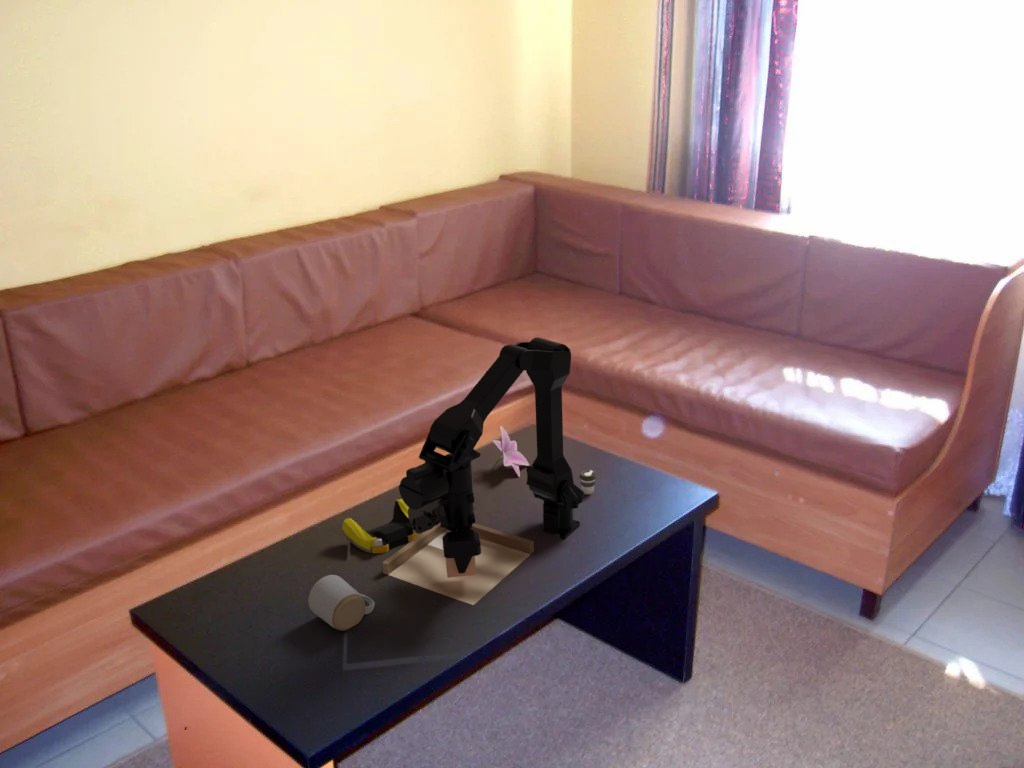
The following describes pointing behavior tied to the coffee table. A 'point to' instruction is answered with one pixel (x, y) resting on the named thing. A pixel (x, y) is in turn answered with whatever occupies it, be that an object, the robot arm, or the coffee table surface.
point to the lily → (510, 452)
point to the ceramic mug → (338, 602)
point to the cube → (453, 570)
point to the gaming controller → (382, 532)
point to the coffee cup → (587, 481)
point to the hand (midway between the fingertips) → (460, 564)
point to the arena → (428, 563)
